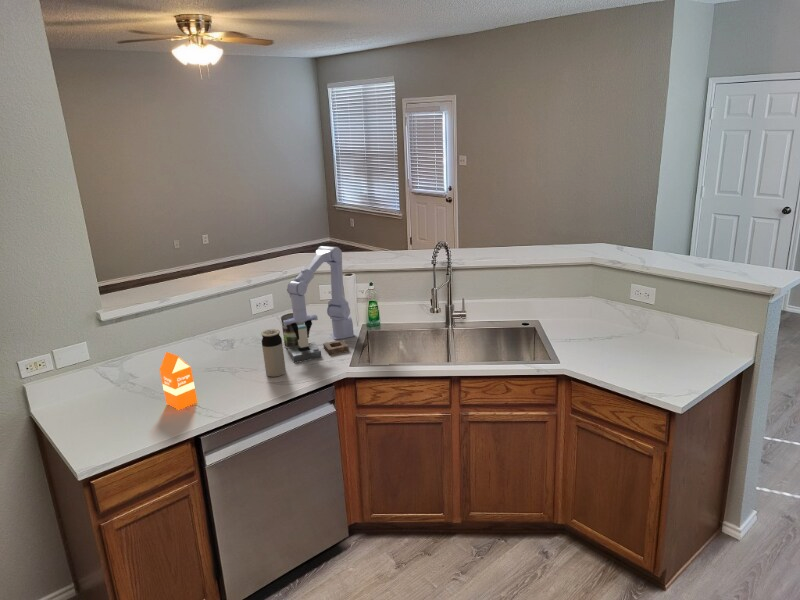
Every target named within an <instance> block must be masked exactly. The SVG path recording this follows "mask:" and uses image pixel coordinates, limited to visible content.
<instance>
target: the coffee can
mask: <svg viewBox="0 0 800 600" xmlns="http://www.w3.org/2000/svg"><path fill="white" fill-rule="evenodd" d="M291 318H294V317H293V312H291V313H286V314H283V315H282V316H281V317H280V319H281V327H282V335H283V341H284V342H283V344H284V347H285V349H288V347H292V346H297V345H299V343H298V340H297V337H296V334H295V332H294V330H293V328H292V326H291V325H287V326H284V323H283V320H288V319H291ZM296 324H297V326H298V325H303V324H305V323H304V322H301V323H296Z"/></svg>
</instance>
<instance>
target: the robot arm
mask: <svg viewBox="0 0 800 600" xmlns="http://www.w3.org/2000/svg"><path fill="white" fill-rule="evenodd" d="M342 251H343V250H341V249H340V247H338V246H328V245H327V246H324V245H320V246H319V247H318V248H317V249H316V250H315V256H314V257H313V259H312V260H311V262H310V263H309V265H308V266H307V268H305V267H304V268H302V269H301V270H300V272H299V274H298V275H297V276H296V277H295V278H294V280H292V281H290V282H289V283H288V284H287V288H286V292H287V294H289V298H290V300H291V301H290V302H291V308H292V313H293V317H294V318H291V319H288V320H283V323H284V326H287V325H291V326H292V328H293V330H294V332H295V334H296V337H297V340H299V334H298V326H297V324H296V323H301V322H304V324H305V325H306V326H307V336H308V339H309V338H310V331H311V328H312V325H313V321H318V320H319V319H318V315H317V314H311V315H309V314H308V315H307V305H306V297H305V294H306V293H307V289H308V286H309V284H310V282H311V281H312V280H313V279H314V277H315V272H316V271H317V270H318V269H319V268H320V267H321V266H322V265H323V264H324V263H326V264H328V266H330V285H331V286H330V288H331V289H330V290H331V291H330V292H331V299H330V300H329V301H327V308H326V313H327V316H328V317H329V318H330V319H331V326H332V333H330V336H331V337H332V338H333V339H334V341H338V340H343V339H346V338H352V337H355V334H354V332H355V331H354V323H353V319H352V317H351V315H350V314H351V309H350V305H349V301H348V300H346V299H345V298H344V281H343V280H344V279H343V278H344V277H343V252H342Z"/></svg>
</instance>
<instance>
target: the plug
mask: <svg viewBox="0 0 800 600" xmlns="http://www.w3.org/2000/svg"><path fill="white" fill-rule="evenodd" d="M298 334H299V340H298V343H299V346H300V348H302V347H307V346H309V344H308V343H309V338H308V336H307V326H306V325H305V323H304V324H303V325H298Z"/></svg>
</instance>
